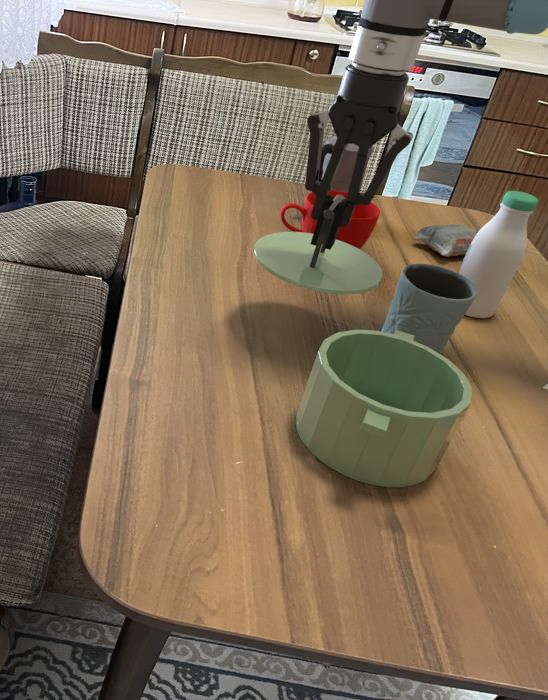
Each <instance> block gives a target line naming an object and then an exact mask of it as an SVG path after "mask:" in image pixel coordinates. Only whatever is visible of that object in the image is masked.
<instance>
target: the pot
mask: <svg viewBox="0 0 548 700" xmlns="http://www.w3.org/2000/svg"><path fill="white" fill-rule="evenodd" d="M381 331H382V330H371V329H351V330H344V331H338V332H336V333H334V334H332V335H330V336H329V337H327V338H325V339H323V341H322V343H321V345H320V347H319V349H318V351H317V353H316V356H315V360H314V363H313V365H312V368H311V371H310V374H309V377H308V379H307V383H306V386H305V388H304V391H303V394H302V397H301V399H300V403H299V405H298V408H297V410H296V416H295V426H296V427H295V428H296V431H297V434H298V436H299V438H300V440H301V441H302V443H303V444H304V446H305V447H306V448H307V449H308V451H309V452H310V453H311V454H312V455H313V456H314V457H315V458H317V460H319V461H320V462H322V463H323V464H324V465H326V466H328V468H330V469H332V470H334V471H336V472H337V473H339V474H341V475H343V476H345V477H347V478H350V479H352V480H355V481H358V482H360V483H364V484H367V485H371V486H376V487H383V488H406V487H412V486H416V485H418V484H421V483H423V482H424V481H427V479H429V478H430V477H431V476H432V475H433V473H434V472H435V471H436V470H437V468H438V467H439V464H440V463H441V461H442V460H443V457H444V455H445V453H446V452H447V450H448V448H449V446H450V444H451V442H452V440H453V439H454V436H455V434H456V433H457V430H458V428H459V427H460V425H461V423H462V421H463V419H464V418H465V416H466V414H467V411H468V409H469V408H470V406H471V404H472V399H473V397H472V396H473V388H472V386H471V384H470V382H469V380H468V378H467V377H466V374H465V373H464V372H463V371H462V370H461V369H460V368H458V367H457V366H456V364H454V363H453V362H452V361H451V360H450V359H448V358H447V357H445V356H444V355H442V354H441V355H440V354H439V353H437V352H435V351H434V350H432V349H431V348H429V347H427V346H425V345H422V344H420V343H418V342H415V341H413V340H414V337H415V336H414V335H411V334H408V333H405V332H402V331H398V330H395V332H394V334H389V333H385V332H381Z"/></svg>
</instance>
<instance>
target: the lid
mask: <svg viewBox="0 0 548 700" xmlns="http://www.w3.org/2000/svg"><path fill="white" fill-rule="evenodd" d="M343 199H345V198H344V196H343V195H337V196H336V197H335V198H334V199H333V201H332V202H331V203H330V205H329V206H328V207H327V209H326V210H325V211H324V213H323V215H324V217H325V219H324V222H323V225H322V228H321V232H320V235H319V238H318V241H317V244H316V246H315V245H311V240H312V237H313V234H311V233H303V232H293V231H279V232H273V233H268V234H266V235H263V236H262V237H260V238H259V239H257V241H256V242H255V243H254V246H253V257H254V258H255V260H256V262H257V263H258V264H259V266H261V267H262V268H263V269H264V270H265V271H266V272H268V273H269V274H271V275H272V276H274V277H276V278H278V279H280V280H282V281H284V282H285V283H288V284H291V285H293V286H296V287H299V288H302V289H306V290H309V291H314V292H318V293H322V294H330V295H357V294H358V295H359V294H364V293H367V292H371V291H372V290H374V289H376V288H377V287H378V286H379V285H380V283H381V282H382V278H383V270H382V267H381V266H380V264H379V263H378V262H377V261H376V260H375V259H374V258H373V257H372V256H370V254H368V253H367V252H365V251H363V250H361V248H360V249H358V248H356V247H354V246H352V245H350V244H347V243H345V242H342V241H339V240H335V243H334V245H333V246H332V248H331V250H328V249H325V246H326V243H327V240H328V237H329V234H330V231H331V228H332V225H333V222H334V218H335V215H336V212H337V209H338V206H339V204H340V202H341V201H342V200H343Z"/></svg>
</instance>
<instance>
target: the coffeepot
mask: <svg viewBox="0 0 548 700" xmlns="http://www.w3.org/2000/svg"><path fill="white" fill-rule="evenodd" d="M336 140H337V136H331V137H329V138H328V139H326V140H325V144H323V145H322V154H321V163H320V171H319V180H318V181H319V182H321V181H322V179H323V176H324V173H325V171H326V168H327V165H328V163H329V160H330V157H331V155H332V152H333V149H334V146H335V143H336ZM358 149H359V146H357V145H355V144H348V146H347V148H346V150H345V153H344V155H343V158H342V160H341V163H340V166H339V168H338V171H337V173H336V176H335V178H334V181H333V183H332V186H331V190H332V191H340V192H346V193H348V191H349V187H350V183H351V179H352V175H353V171H354V167H355V163H356V159H357V153H358ZM374 150H375V147H374V145H373V146H372V150H371V152H370V156H369V159H370V158H371V156H372V155H373V153H374Z"/></svg>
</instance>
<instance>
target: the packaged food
mask: <svg viewBox="0 0 548 700" xmlns="http://www.w3.org/2000/svg"><path fill="white" fill-rule="evenodd" d="M478 232H479V230H475V229H473V228H470V227H467V226H465V225H463V224H459V223H458V224H457V223H456V224H436V225H430V226H424V227H422V228H421V229H419V230H418V231H417V233H416V234H415V236H414V240H415V241H420V242H421V243H423V244H424V245H425V246H426V247H428V248H429V249H431V250H432V251H434V252H436V253H438V254H439V255H441V256H442V257H443V256H444V257H446V258H449V257H456V256H465V255H466V253H467V251H468V248H469V246H470V245H471V243H472V241H473V239H474V237H475V236H476V234H477V233H478Z"/></svg>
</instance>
